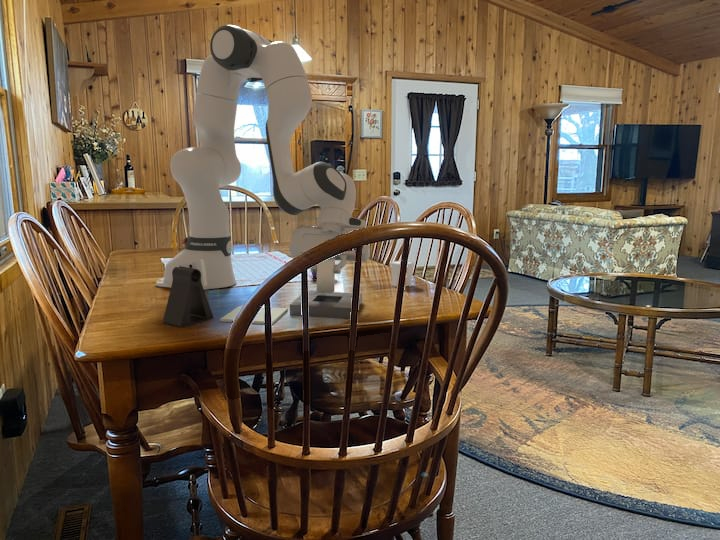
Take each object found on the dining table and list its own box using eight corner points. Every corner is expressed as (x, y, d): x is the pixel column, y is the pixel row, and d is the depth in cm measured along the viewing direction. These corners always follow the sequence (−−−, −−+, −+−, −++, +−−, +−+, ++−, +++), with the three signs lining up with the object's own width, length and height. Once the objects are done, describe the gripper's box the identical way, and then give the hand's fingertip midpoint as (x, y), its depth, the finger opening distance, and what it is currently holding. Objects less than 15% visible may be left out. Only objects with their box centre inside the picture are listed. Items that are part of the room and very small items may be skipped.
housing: (289, 314, 124) (289, 304, 123) (305, 299, 138) (305, 290, 138) (352, 318, 122) (353, 308, 121) (362, 303, 136) (362, 293, 136)
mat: (220, 321, 117) (220, 318, 117) (240, 307, 129) (240, 305, 129) (272, 324, 116) (272, 322, 115) (287, 310, 127) (287, 308, 127)
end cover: (314, 292, 127) (315, 255, 126) (318, 288, 132) (319, 253, 130) (332, 293, 127) (333, 256, 125) (335, 289, 131) (336, 253, 129)
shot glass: (411, 288, 155) (412, 264, 154) (388, 286, 156) (389, 263, 155) (414, 283, 161) (414, 261, 160) (391, 282, 163) (392, 259, 161)
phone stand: (180, 328, 112) (178, 272, 110) (162, 323, 115) (159, 269, 113) (213, 318, 119) (211, 266, 117) (195, 314, 123) (193, 263, 120)
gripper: (292, 217, 134) (281, 262, 126) (371, 221, 131) (365, 266, 124) (296, 233, 139) (286, 276, 132) (373, 236, 137) (367, 281, 129)
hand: (325, 271), depth 128 cm, fingers closed on end cover, 4 cm apart
